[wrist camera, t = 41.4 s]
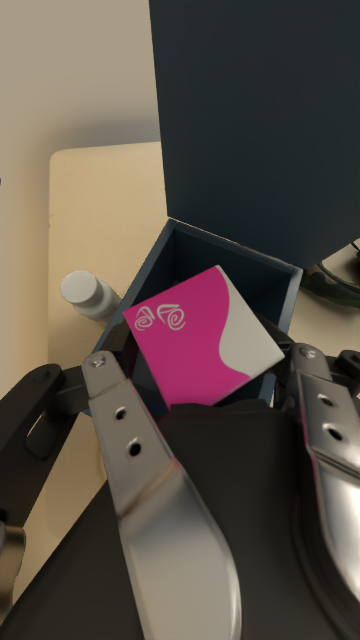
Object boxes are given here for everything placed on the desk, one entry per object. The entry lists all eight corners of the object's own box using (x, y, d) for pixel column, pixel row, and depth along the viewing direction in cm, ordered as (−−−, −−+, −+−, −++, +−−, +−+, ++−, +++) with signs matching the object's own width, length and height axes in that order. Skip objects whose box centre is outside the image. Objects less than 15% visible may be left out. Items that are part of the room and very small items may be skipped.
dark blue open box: (210, 425, 19) (248, 495, 9) (117, 381, 19) (62, 402, 10) (249, 307, 23) (303, 269, 13) (171, 275, 24) (169, 217, 14)
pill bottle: (96, 297, 22) (56, 266, 15) (127, 296, 22) (103, 264, 15) (94, 326, 21) (50, 309, 14) (126, 325, 21) (100, 307, 14)
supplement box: (193, 318, 19) (222, 259, 8) (219, 360, 18) (295, 362, 7) (152, 340, 18) (117, 309, 7) (175, 387, 17) (180, 440, 6)
